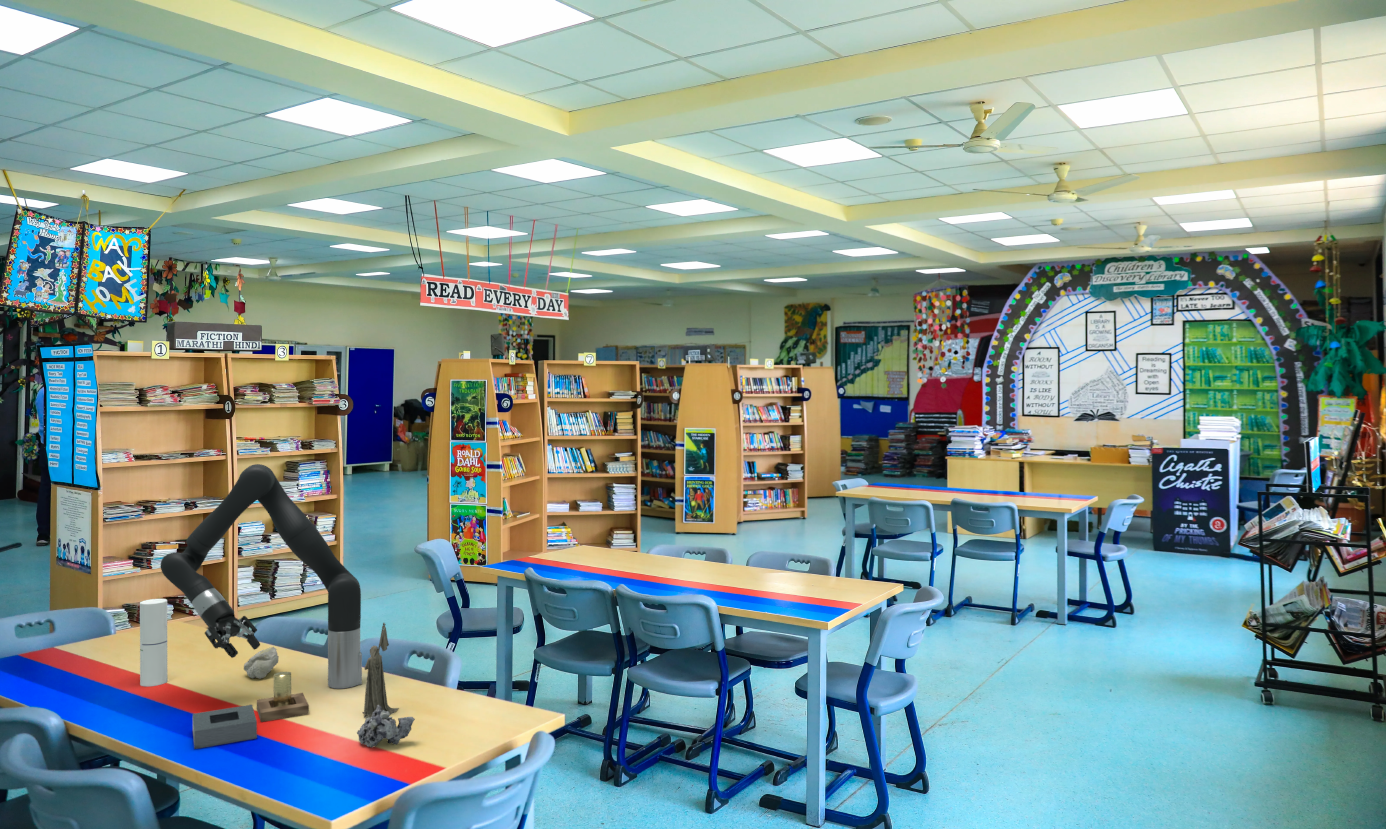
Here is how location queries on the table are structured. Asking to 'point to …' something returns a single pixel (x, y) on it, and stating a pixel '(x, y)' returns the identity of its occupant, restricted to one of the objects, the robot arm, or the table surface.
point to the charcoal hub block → (224, 726)
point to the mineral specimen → (383, 728)
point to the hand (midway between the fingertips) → (246, 651)
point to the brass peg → (282, 689)
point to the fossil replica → (261, 663)
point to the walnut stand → (282, 708)
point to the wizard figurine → (376, 679)
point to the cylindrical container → (153, 642)
